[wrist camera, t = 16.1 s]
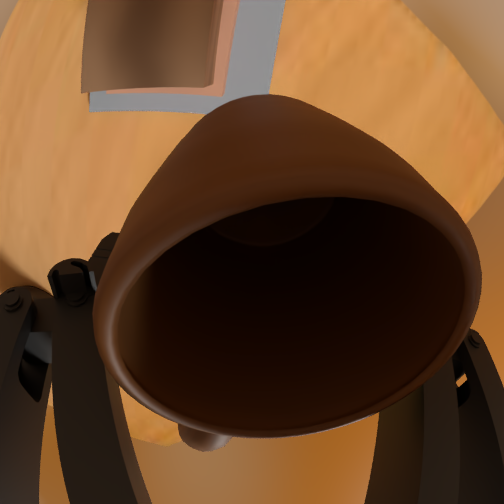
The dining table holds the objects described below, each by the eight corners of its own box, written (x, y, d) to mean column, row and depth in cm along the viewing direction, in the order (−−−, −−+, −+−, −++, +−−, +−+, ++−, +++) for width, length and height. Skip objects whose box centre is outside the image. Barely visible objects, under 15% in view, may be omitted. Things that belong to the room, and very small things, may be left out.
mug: (263, 321, 18) (276, 473, 10) (141, 285, 16) (95, 444, 8) (377, 141, 12) (534, 275, 4) (215, 64, 10) (128, 37, 2)
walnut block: (117, 85, 21) (81, 93, 16) (125, -2, 16) (91, -18, 11) (213, 84, 22) (203, 87, 16) (224, -7, 17) (219, -32, 11)
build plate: (93, 110, 28) (67, 120, 23) (107, -13, 19) (83, -24, 14) (263, 119, 30) (268, 129, 25) (286, -11, 21) (296, -27, 16)
